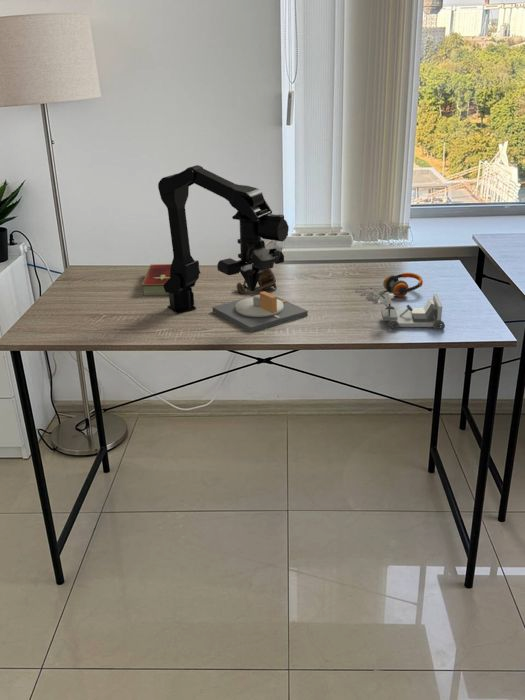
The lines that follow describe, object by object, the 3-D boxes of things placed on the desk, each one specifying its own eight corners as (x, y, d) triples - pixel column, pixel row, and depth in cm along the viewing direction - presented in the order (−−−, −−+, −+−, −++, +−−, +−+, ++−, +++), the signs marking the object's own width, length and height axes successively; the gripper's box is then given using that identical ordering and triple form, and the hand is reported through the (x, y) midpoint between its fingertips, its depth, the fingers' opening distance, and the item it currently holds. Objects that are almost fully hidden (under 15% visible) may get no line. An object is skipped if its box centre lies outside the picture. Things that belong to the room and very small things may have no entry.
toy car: (379, 297, 198) (376, 283, 209) (378, 330, 202) (375, 315, 213) (447, 297, 197) (441, 283, 207) (444, 331, 201) (438, 315, 211)
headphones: (350, 282, 230) (404, 261, 234) (353, 297, 233) (406, 276, 237) (375, 299, 216) (432, 277, 220) (378, 315, 219) (434, 292, 223)
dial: (226, 306, 216) (225, 289, 214) (265, 296, 223) (264, 279, 221) (254, 321, 205) (253, 303, 203) (294, 310, 212) (294, 292, 210)
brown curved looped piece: (277, 279, 227) (278, 262, 234) (236, 275, 227) (239, 259, 235) (276, 298, 231) (277, 281, 239) (235, 295, 231) (238, 278, 239)
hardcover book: (186, 274, 251) (185, 262, 249) (180, 296, 232) (179, 283, 230) (151, 275, 251) (150, 263, 249) (142, 296, 232) (141, 284, 230)
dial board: (250, 332, 202) (250, 326, 202) (212, 311, 217) (212, 306, 217) (307, 315, 213) (307, 309, 212) (267, 296, 228) (267, 291, 227)
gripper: (238, 249, 186) (240, 306, 193) (296, 236, 196) (296, 291, 203) (215, 240, 195) (217, 295, 201) (271, 228, 204) (272, 281, 211)
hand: (252, 291), depth 204 cm, fingers closed
